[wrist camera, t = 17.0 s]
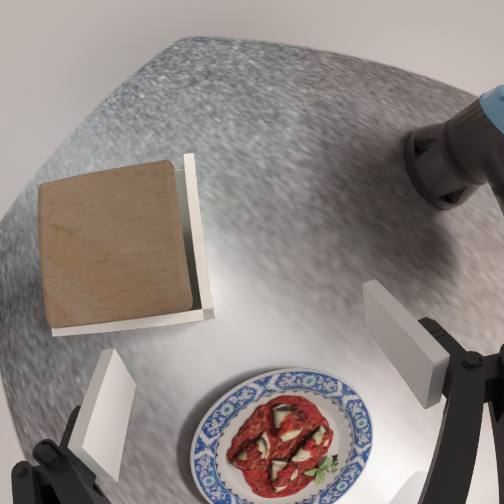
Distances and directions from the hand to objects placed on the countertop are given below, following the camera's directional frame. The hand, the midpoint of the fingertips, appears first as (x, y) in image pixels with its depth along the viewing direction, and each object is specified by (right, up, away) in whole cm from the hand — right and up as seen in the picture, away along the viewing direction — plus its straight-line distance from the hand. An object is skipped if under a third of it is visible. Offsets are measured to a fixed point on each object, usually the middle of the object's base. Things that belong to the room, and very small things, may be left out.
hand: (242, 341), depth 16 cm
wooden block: (-12, +2, +23) cm, 26 cm away
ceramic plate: (+5, -23, +23) cm, 33 cm away
